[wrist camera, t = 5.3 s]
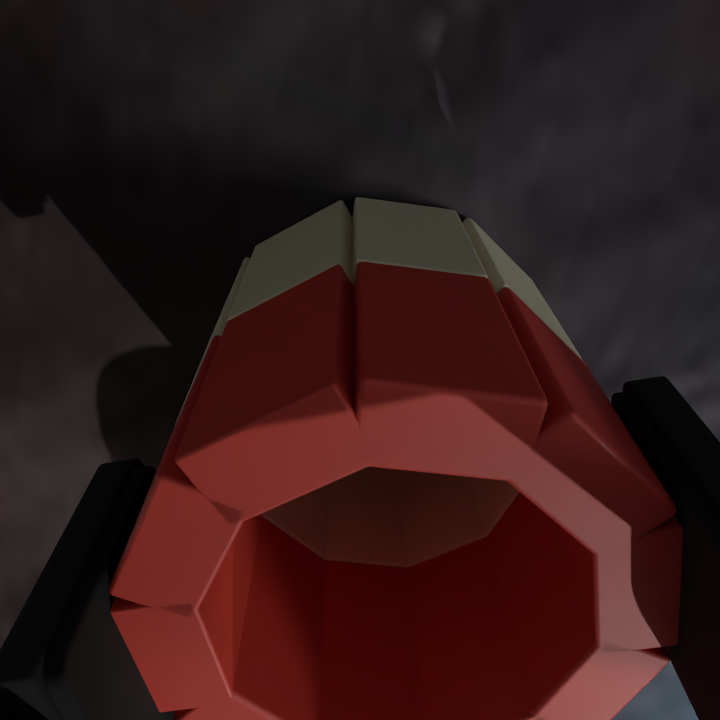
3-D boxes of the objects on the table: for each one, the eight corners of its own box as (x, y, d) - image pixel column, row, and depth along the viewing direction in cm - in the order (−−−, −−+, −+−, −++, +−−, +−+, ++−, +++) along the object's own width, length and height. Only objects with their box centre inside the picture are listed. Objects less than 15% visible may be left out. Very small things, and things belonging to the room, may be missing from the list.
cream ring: (206, 472, 16) (171, 587, 13) (219, 177, 13) (176, 235, 10) (504, 502, 17) (539, 620, 14) (586, 226, 14) (658, 297, 10)
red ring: (172, 586, 13) (115, 775, 10) (176, 235, 10) (95, 349, 7) (540, 620, 14) (597, 808, 11) (658, 296, 10) (793, 429, 7)
